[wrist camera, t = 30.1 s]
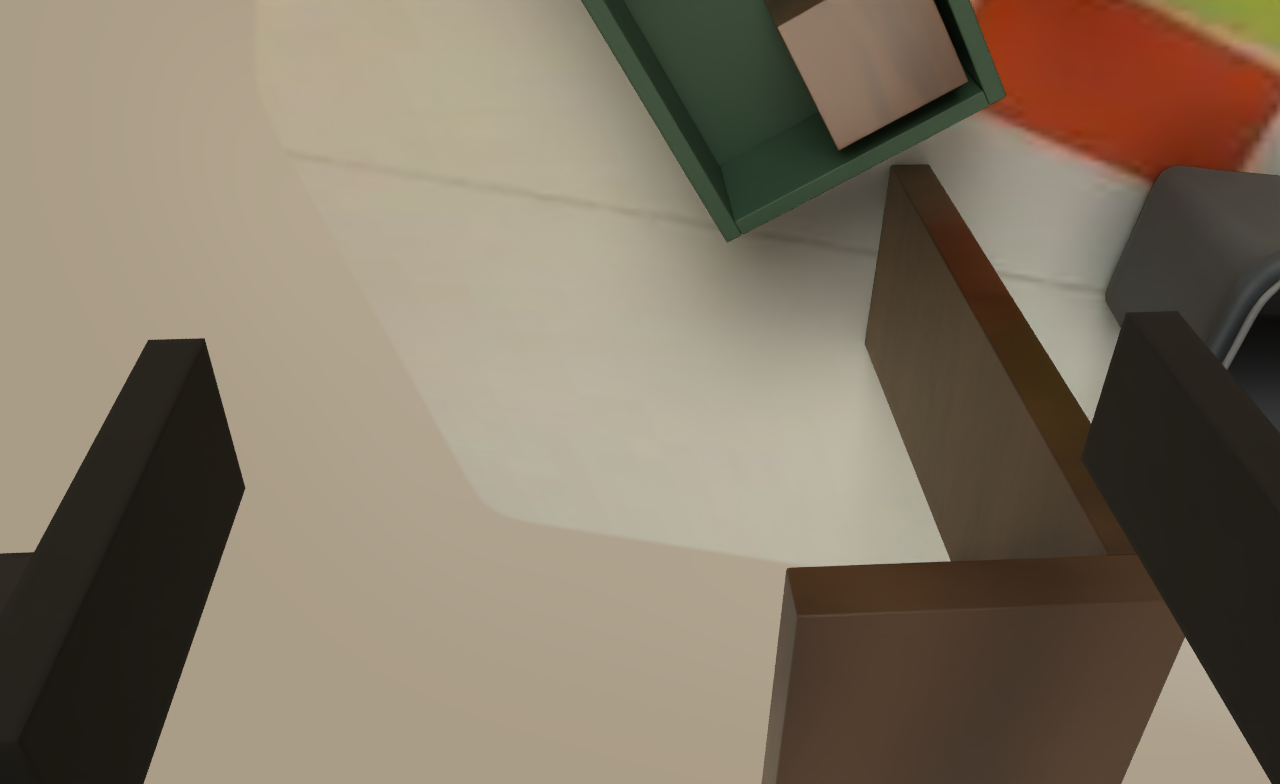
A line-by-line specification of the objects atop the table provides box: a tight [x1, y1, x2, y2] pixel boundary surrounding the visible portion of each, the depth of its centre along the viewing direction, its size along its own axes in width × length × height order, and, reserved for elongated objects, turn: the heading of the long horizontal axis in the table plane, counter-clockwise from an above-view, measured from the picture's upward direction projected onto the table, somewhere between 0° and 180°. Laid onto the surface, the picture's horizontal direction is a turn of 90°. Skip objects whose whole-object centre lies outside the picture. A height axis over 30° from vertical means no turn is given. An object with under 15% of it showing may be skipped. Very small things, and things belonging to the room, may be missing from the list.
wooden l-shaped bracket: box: [762, 165, 1185, 784], centre depth 48 cm, size 12×12×30 cm
